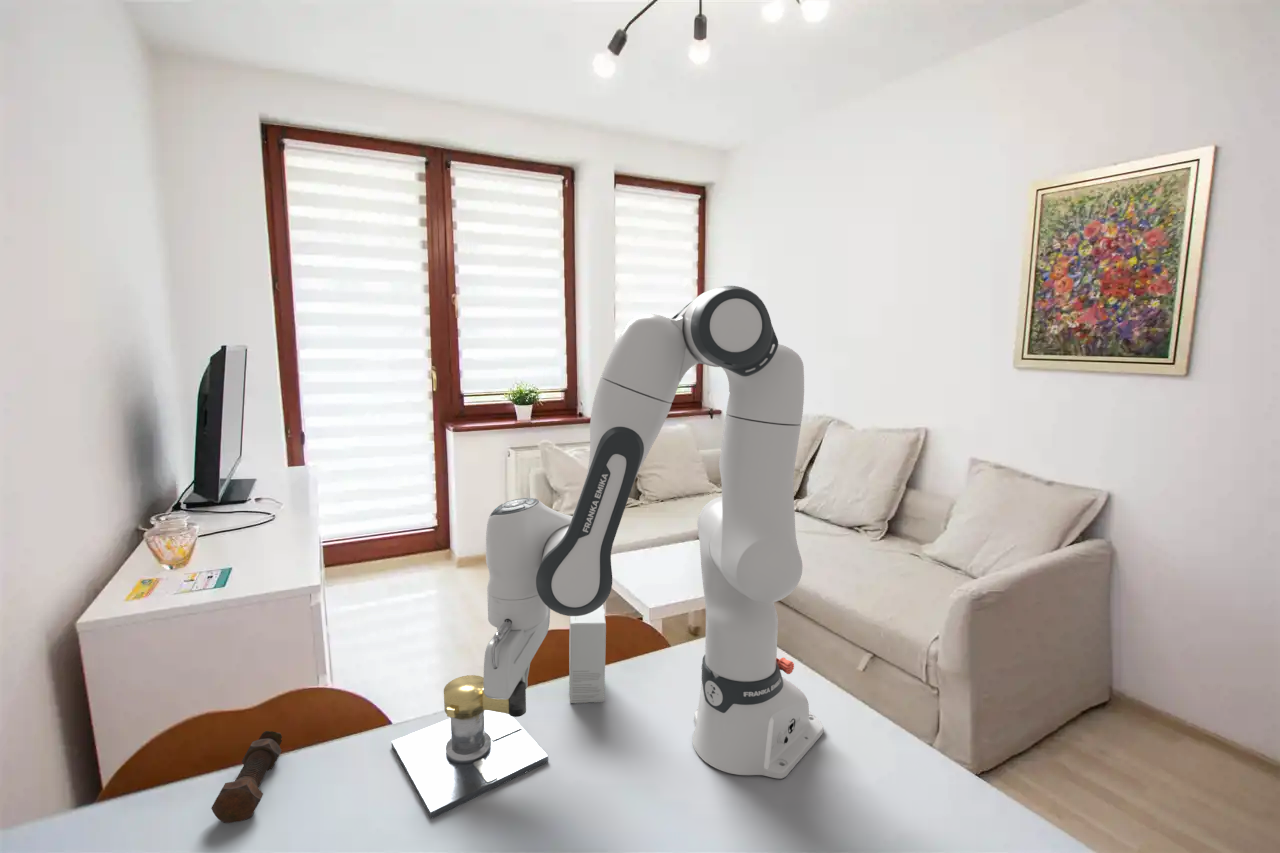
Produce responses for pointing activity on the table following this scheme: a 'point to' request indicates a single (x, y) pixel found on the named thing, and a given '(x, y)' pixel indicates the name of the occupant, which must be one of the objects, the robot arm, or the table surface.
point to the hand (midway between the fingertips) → (520, 691)
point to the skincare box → (587, 657)
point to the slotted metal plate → (466, 758)
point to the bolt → (248, 780)
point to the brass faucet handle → (480, 699)
